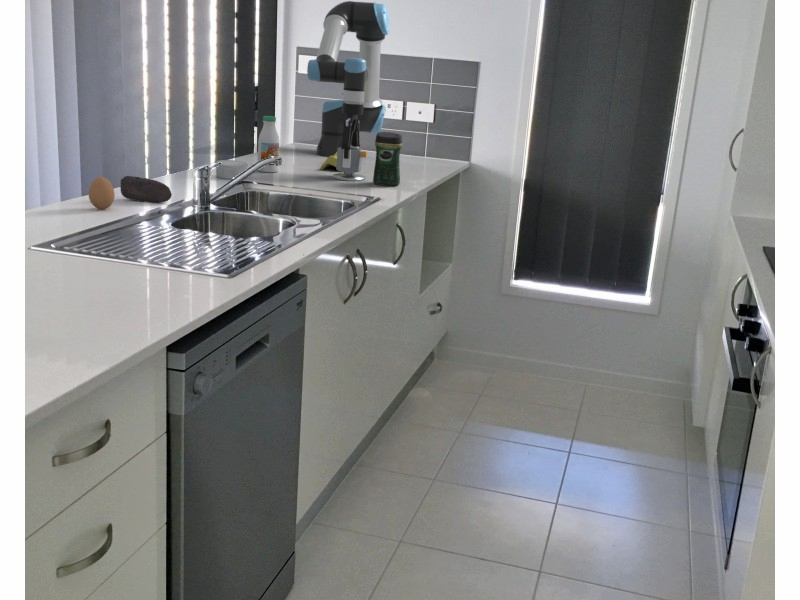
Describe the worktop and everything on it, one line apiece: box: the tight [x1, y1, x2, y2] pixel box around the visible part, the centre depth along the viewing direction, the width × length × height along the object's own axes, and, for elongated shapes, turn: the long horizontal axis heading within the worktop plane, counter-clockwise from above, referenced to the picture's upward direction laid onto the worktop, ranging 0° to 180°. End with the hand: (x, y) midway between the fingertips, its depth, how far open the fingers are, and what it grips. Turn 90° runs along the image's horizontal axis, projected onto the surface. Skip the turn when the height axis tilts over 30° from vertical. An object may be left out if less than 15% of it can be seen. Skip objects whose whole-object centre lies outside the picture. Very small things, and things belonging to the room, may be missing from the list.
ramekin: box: [214, 159, 248, 180], centre depth 297 cm, size 11×11×5 cm
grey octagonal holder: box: [335, 147, 369, 173], centre depth 311 cm, size 8×11×8 cm
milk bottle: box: [257, 115, 280, 173], centre depth 312 cm, size 8×8×20 cm
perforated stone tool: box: [119, 175, 173, 203], centre depth 248 cm, size 15×5×7 cm, turn 80°
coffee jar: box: [372, 131, 403, 187], centre depth 304 cm, size 10×8×19 cm
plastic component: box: [320, 152, 337, 170], centre depth 335 cm, size 20×7×10 cm
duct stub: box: [332, 172, 366, 182], centre depth 312 cm, size 12×12×8 cm
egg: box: [88, 176, 116, 210], centre depth 234 cm, size 7×7×9 cm
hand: (349, 165), depth 312 cm, fingers closed on grey octagonal holder, 8 cm apart
